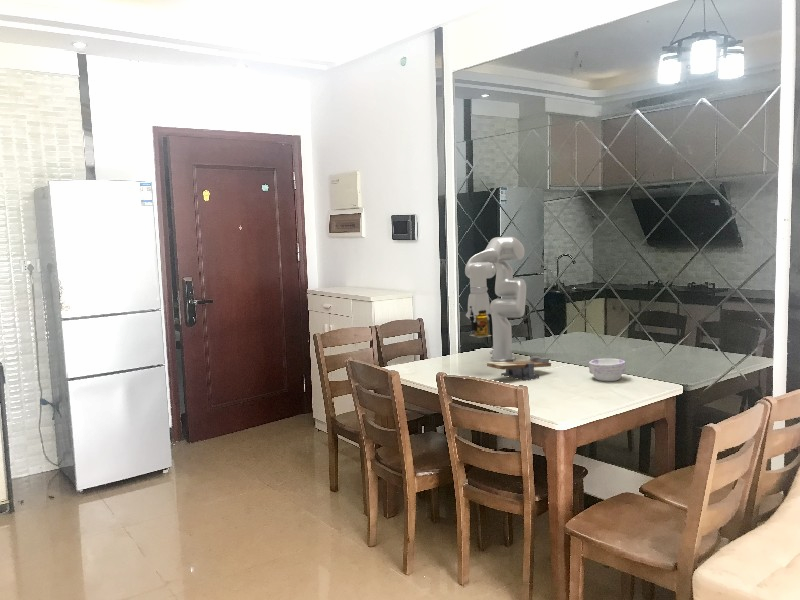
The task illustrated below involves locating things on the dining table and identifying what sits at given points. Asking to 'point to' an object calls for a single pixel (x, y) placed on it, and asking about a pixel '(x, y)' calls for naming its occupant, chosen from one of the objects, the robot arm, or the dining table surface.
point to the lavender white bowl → (607, 369)
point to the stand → (521, 372)
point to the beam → (521, 363)
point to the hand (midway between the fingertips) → (480, 329)
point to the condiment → (481, 325)
